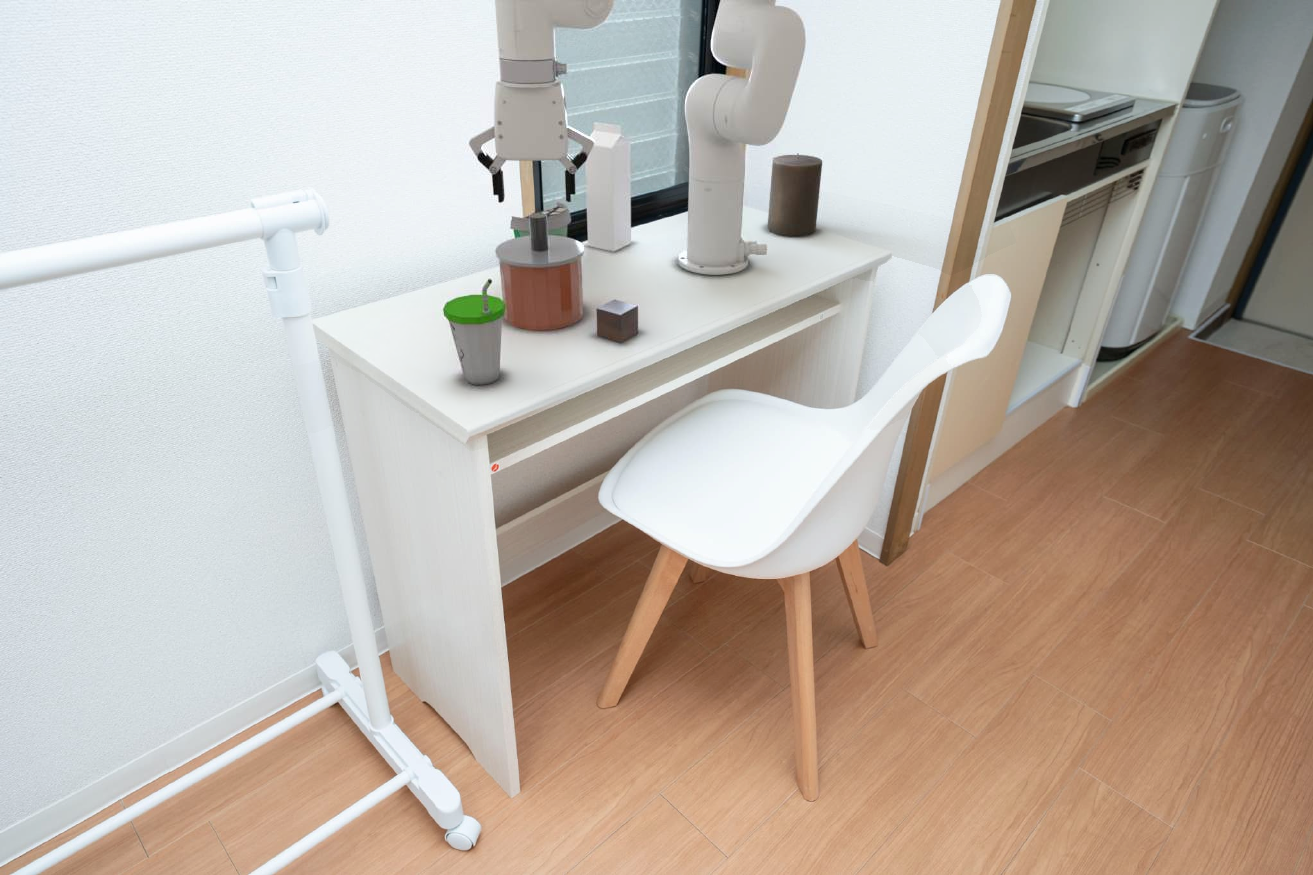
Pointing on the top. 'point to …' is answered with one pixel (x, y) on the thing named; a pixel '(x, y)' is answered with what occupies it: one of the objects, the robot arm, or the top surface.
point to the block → (617, 320)
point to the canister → (542, 295)
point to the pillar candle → (794, 194)
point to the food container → (555, 222)
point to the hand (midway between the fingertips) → (535, 199)
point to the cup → (477, 334)
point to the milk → (608, 188)
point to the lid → (539, 247)
